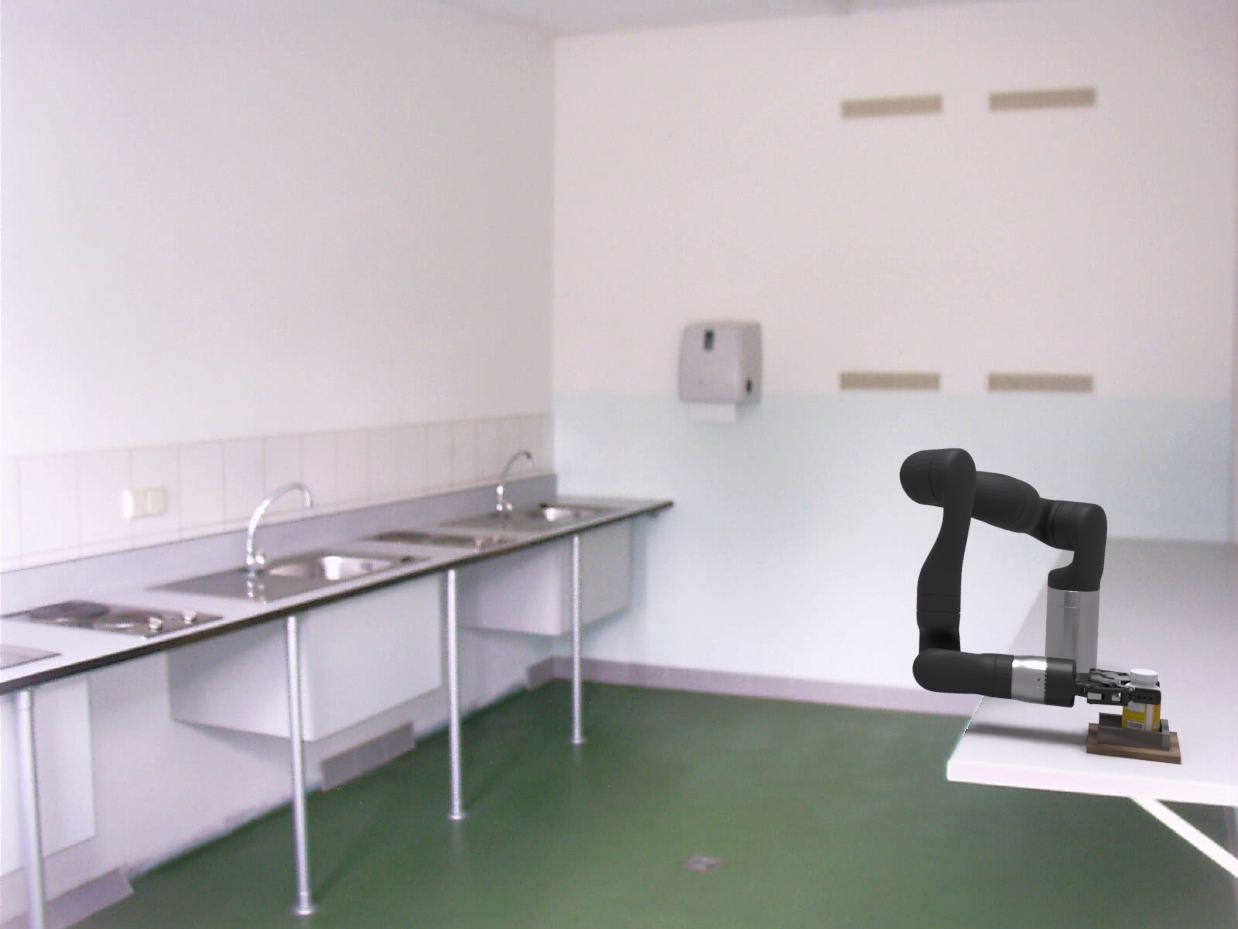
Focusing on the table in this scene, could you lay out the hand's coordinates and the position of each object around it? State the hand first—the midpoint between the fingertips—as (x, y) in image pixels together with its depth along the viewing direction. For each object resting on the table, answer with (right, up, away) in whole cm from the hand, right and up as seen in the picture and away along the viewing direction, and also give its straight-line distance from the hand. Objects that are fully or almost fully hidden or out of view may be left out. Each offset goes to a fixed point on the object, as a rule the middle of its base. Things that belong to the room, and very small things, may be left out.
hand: (1159, 692), depth 192 cm
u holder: (-4, -8, +2) cm, 10 cm away
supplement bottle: (-2, -7, +1) cm, 7 cm away
